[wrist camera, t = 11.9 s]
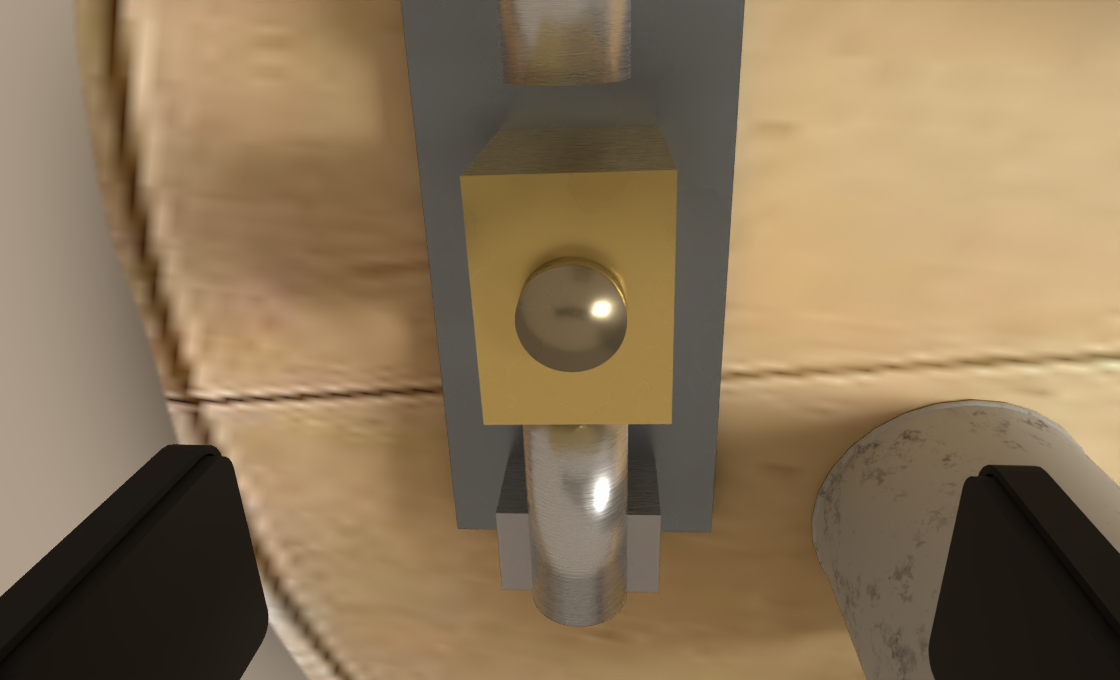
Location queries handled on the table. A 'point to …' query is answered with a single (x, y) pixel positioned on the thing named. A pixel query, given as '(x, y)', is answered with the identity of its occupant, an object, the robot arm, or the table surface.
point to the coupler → (573, 275)
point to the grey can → (929, 516)
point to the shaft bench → (700, 274)
